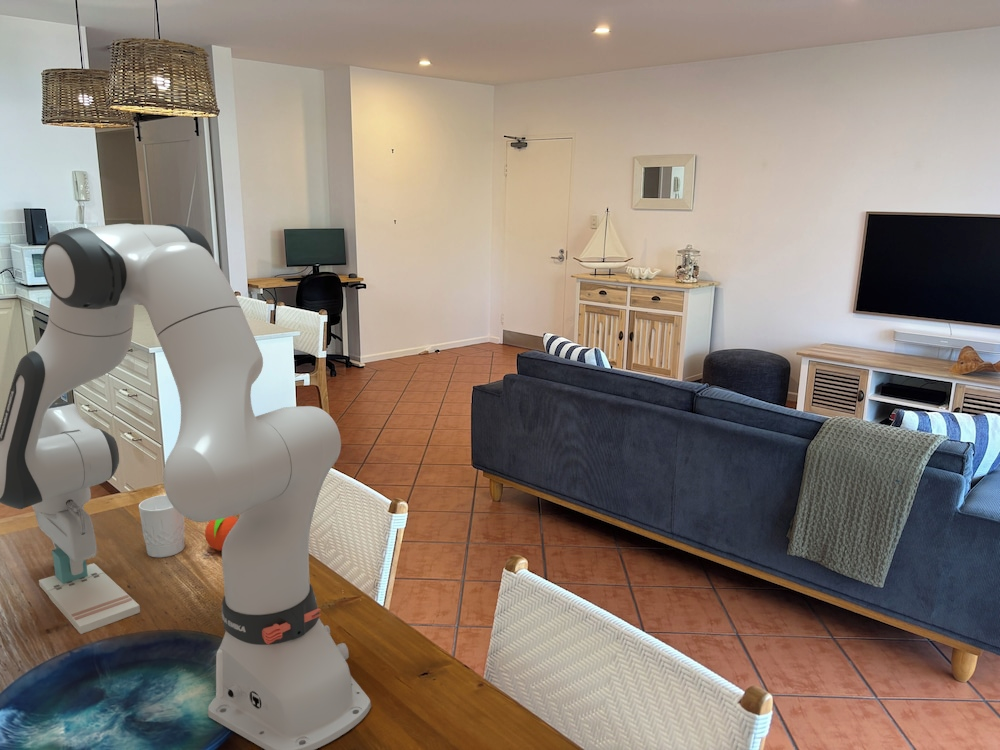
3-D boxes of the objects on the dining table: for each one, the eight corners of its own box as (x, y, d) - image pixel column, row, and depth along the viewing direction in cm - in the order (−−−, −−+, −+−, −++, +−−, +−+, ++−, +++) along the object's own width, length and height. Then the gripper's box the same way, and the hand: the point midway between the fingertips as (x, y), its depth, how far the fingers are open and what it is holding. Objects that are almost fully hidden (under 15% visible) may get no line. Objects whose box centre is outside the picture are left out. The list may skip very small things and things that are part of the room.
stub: (104, 577, 132) (100, 546, 131) (48, 595, 126) (43, 563, 125) (94, 568, 136) (91, 537, 134) (39, 585, 129) (35, 553, 128)
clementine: (234, 559, 140) (232, 524, 139) (198, 559, 140) (195, 524, 139) (248, 541, 148) (246, 508, 146) (214, 540, 148) (211, 507, 146)
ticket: (140, 612, 122) (139, 604, 121) (80, 634, 115) (79, 626, 115) (105, 579, 132) (104, 572, 132) (49, 597, 126) (48, 590, 125)
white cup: (195, 542, 147) (191, 495, 145) (174, 560, 140) (169, 511, 137) (157, 540, 148) (153, 493, 146) (135, 558, 140) (129, 509, 138)
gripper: (102, 504, 122) (111, 580, 125) (62, 474, 136) (71, 543, 139) (60, 515, 118) (70, 594, 121) (23, 483, 132) (33, 554, 135)
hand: (70, 566), depth 130 cm, fingers open, 5 cm apart
